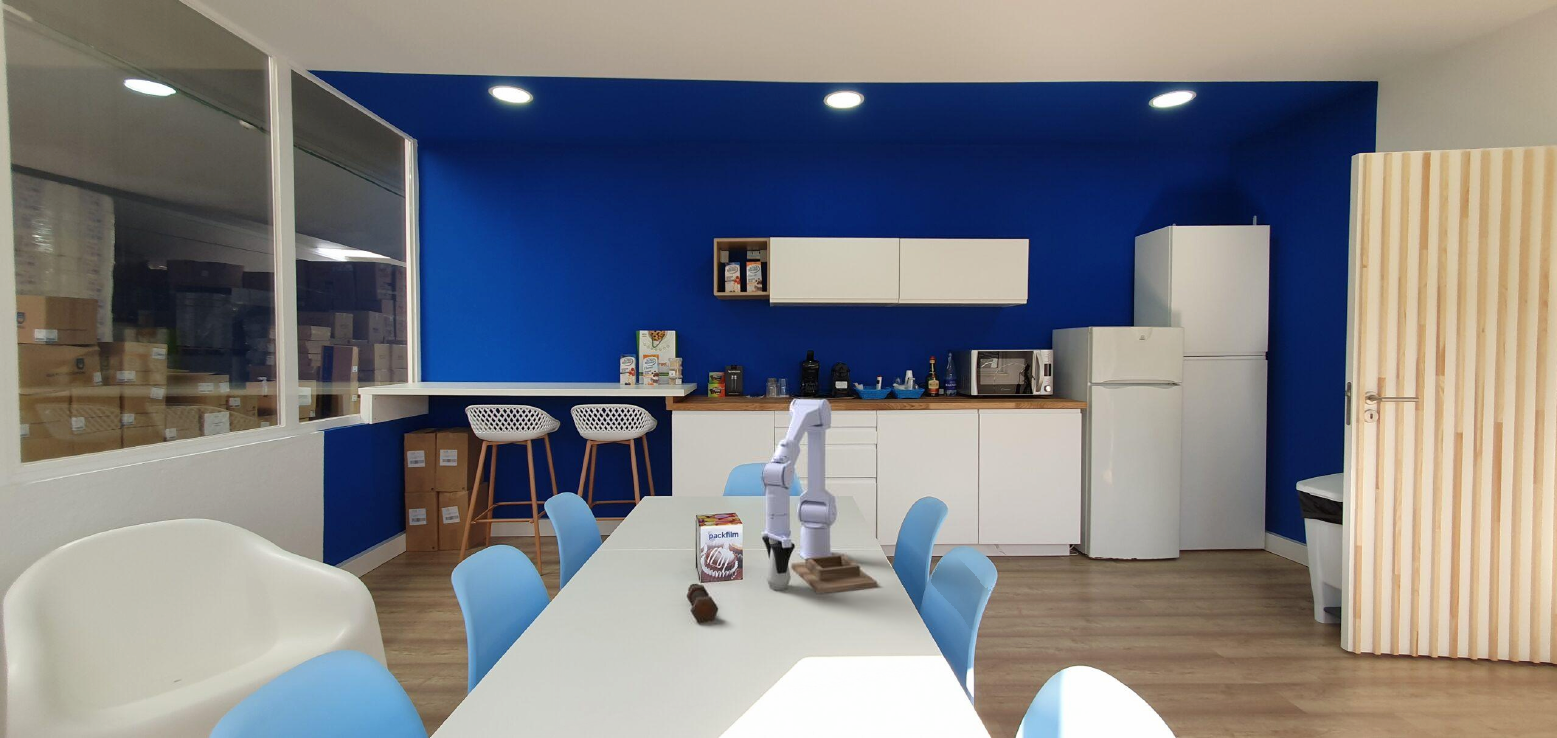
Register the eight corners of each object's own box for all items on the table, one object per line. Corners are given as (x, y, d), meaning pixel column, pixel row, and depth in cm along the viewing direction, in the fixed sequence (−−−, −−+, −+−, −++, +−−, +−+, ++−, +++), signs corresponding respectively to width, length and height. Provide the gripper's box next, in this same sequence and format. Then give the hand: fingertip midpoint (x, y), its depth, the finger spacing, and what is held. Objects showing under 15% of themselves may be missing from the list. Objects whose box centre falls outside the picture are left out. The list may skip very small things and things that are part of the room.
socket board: (791, 567, 179) (791, 553, 179) (844, 562, 184) (844, 548, 183) (818, 593, 160) (818, 578, 160) (876, 586, 164) (876, 571, 164)
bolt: (698, 605, 159) (709, 628, 144) (679, 596, 158) (688, 619, 143) (710, 582, 160) (722, 603, 145) (691, 573, 158) (701, 593, 144)
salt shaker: (762, 589, 163) (761, 535, 163) (772, 582, 168) (771, 529, 168) (785, 593, 161) (784, 538, 160) (794, 585, 166) (793, 531, 166)
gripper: (753, 507, 170) (754, 562, 170) (770, 521, 156) (771, 580, 156) (780, 505, 172) (781, 559, 172) (799, 519, 158) (800, 577, 158)
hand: (778, 569), depth 164 cm, fingers open, 5 cm apart
